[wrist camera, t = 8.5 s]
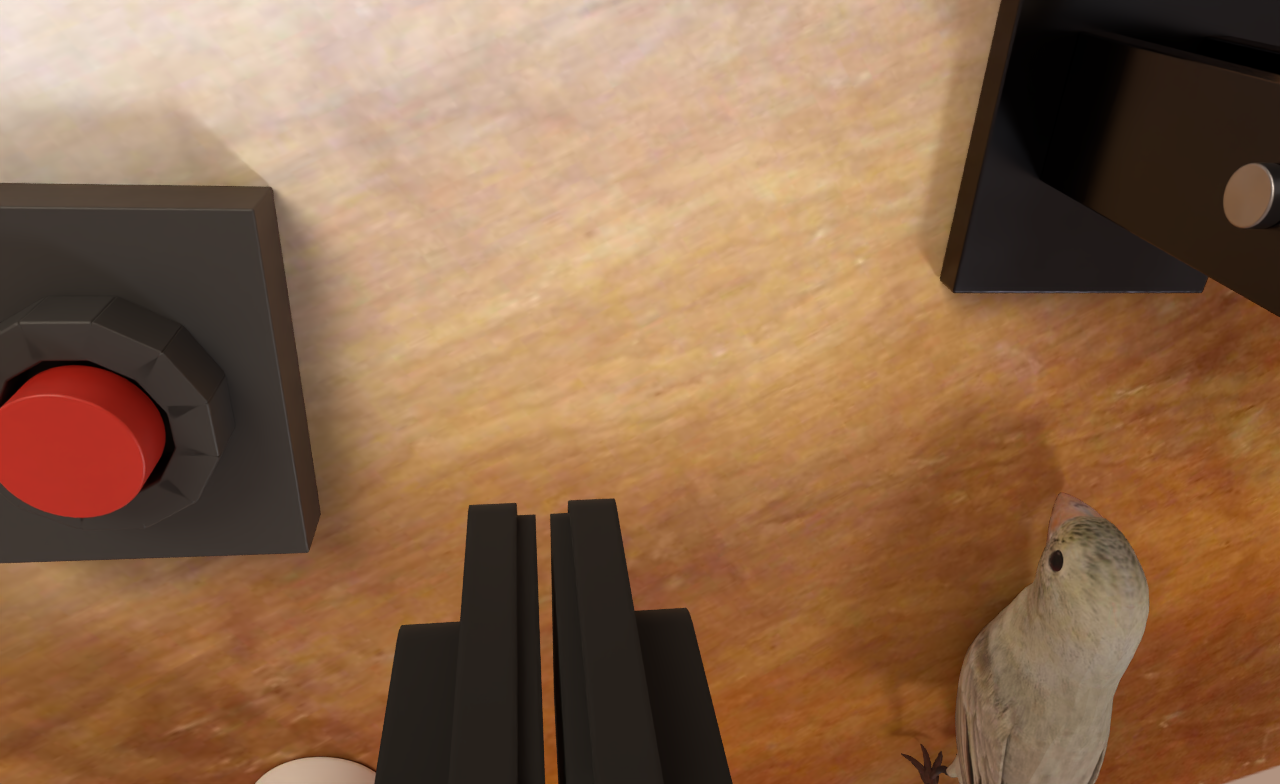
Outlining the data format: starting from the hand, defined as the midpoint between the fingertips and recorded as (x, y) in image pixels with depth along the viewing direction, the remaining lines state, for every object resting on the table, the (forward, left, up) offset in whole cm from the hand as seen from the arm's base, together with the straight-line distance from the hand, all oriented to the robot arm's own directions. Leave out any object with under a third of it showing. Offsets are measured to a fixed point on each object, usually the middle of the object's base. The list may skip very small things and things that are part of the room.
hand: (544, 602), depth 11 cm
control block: (+4, -14, -19) cm, 24 cm away
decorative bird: (+24, +16, -20) cm, 35 cm away
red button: (+4, -14, -16) cm, 21 cm away
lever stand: (+1, +18, -19) cm, 27 cm away
